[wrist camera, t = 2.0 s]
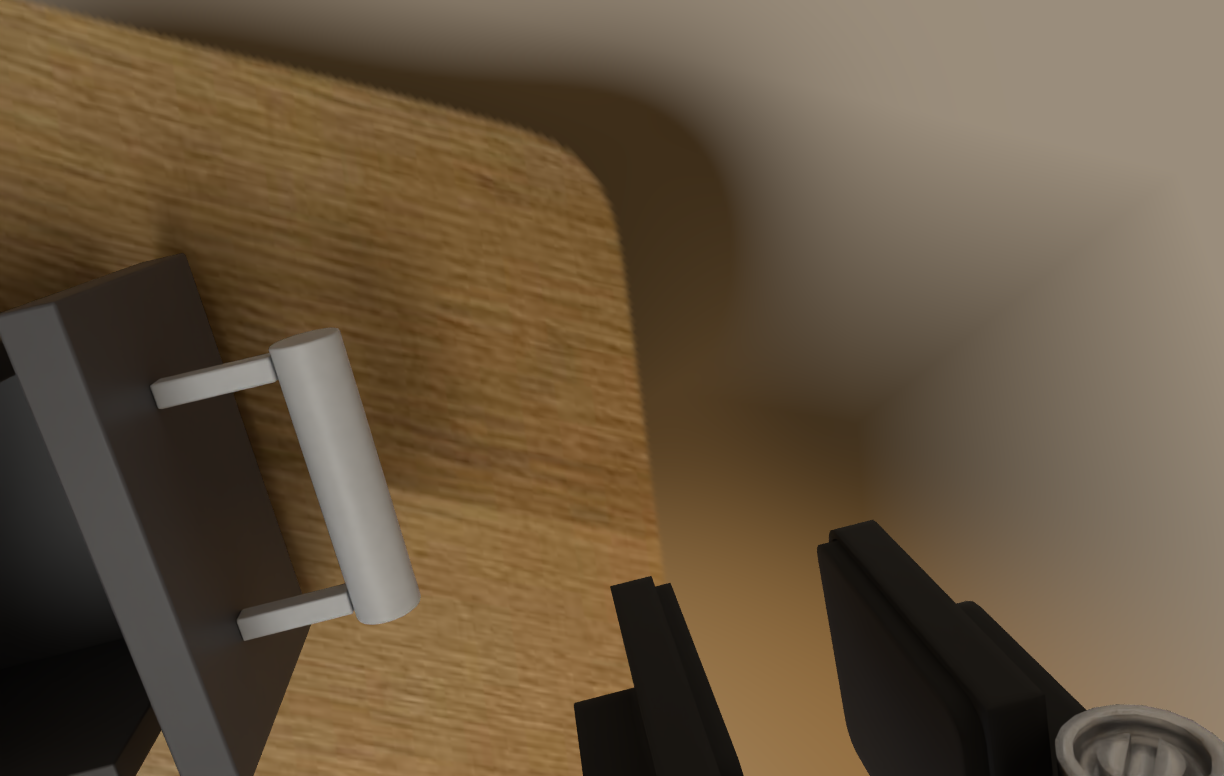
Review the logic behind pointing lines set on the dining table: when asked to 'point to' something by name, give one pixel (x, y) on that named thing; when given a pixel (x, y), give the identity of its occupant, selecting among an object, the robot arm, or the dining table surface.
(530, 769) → the dining table surface
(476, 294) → the dining table surface
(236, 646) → the drawer front with handle
